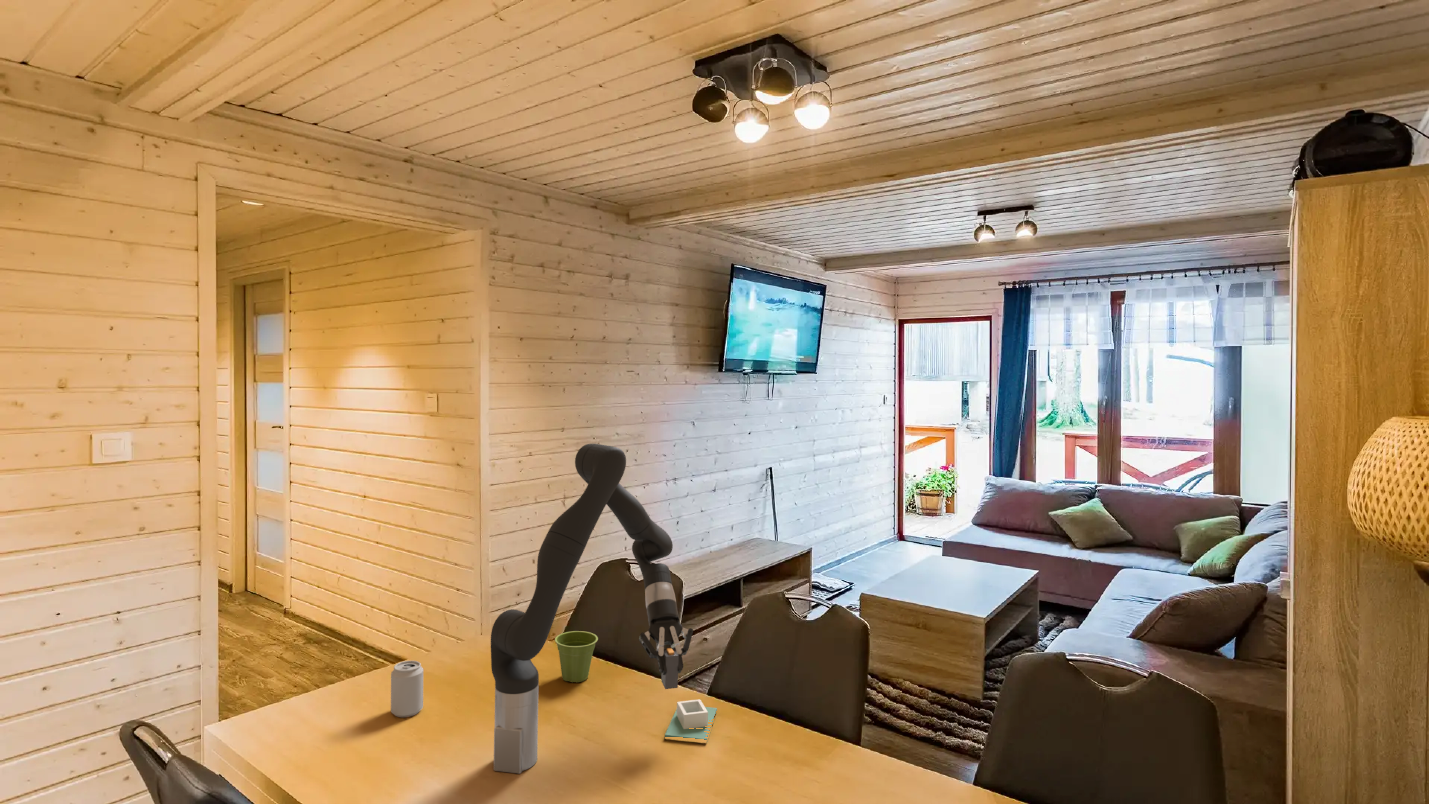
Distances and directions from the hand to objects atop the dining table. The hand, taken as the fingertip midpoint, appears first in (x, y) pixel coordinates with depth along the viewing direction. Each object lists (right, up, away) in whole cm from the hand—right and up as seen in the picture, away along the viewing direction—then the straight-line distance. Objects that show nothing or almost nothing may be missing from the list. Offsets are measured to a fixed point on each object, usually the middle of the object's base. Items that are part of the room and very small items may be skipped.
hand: (672, 672), depth 171 cm
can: (-67, -14, +11) cm, 69 cm away
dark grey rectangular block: (-1, -4, +2) cm, 4 cm away
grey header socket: (+4, -15, +8) cm, 17 cm away
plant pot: (-29, -14, +34) cm, 47 cm away
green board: (+4, -16, +8) cm, 18 cm away
